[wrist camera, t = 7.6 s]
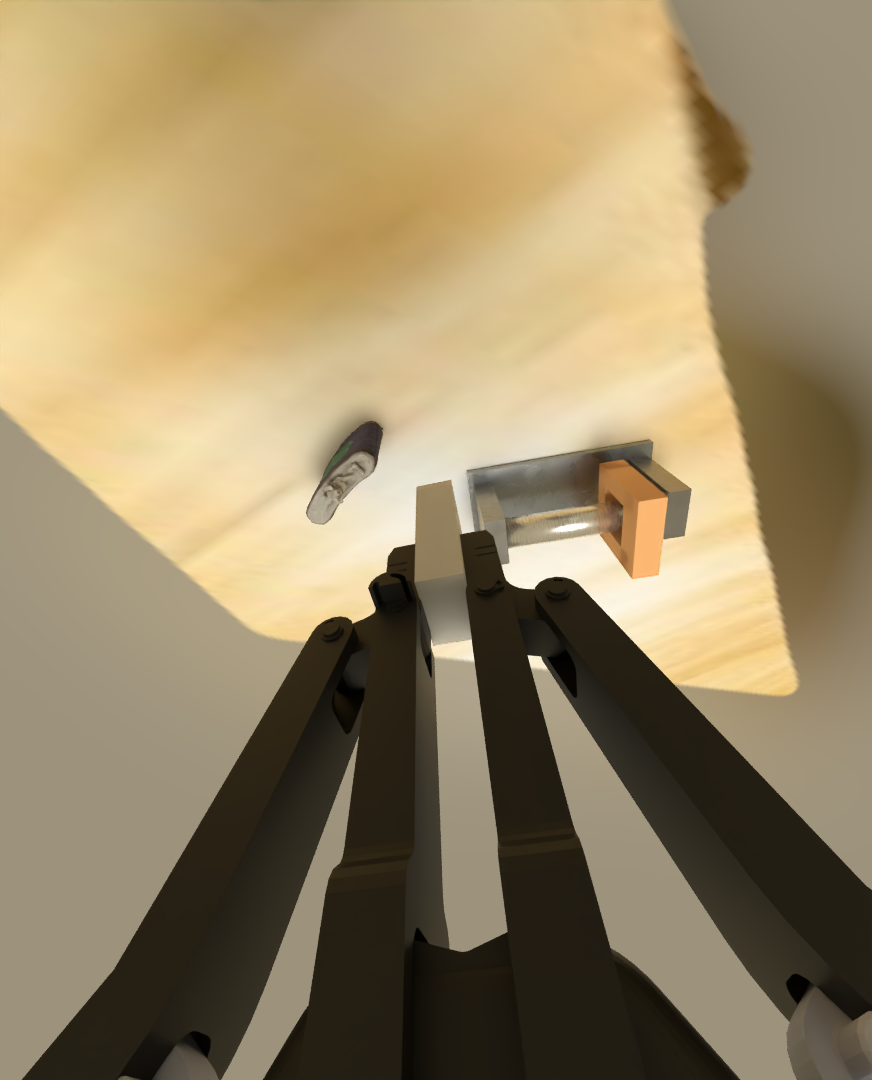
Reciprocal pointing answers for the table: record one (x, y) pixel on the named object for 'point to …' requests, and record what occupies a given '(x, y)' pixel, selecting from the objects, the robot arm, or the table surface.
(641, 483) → the orange square ring
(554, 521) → the pipe rail
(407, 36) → the table surface
